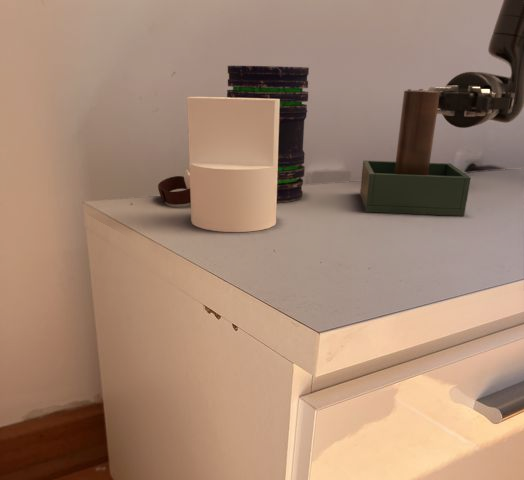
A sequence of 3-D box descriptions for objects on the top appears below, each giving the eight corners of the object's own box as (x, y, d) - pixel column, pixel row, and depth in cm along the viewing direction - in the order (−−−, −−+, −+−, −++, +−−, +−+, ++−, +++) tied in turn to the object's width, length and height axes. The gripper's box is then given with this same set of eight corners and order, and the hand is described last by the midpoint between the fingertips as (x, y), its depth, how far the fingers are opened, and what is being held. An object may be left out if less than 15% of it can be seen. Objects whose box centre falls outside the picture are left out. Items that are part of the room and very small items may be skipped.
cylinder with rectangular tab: (181, 229, 57) (176, 98, 52) (202, 210, 65) (199, 95, 60) (270, 234, 56) (274, 101, 51) (280, 214, 64) (284, 97, 59)
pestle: (421, 195, 72) (436, 91, 67) (427, 201, 68) (442, 92, 63) (390, 193, 72) (402, 90, 67) (393, 200, 69) (406, 91, 63)
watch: (209, 206, 67) (208, 174, 65) (170, 209, 65) (169, 176, 64) (186, 194, 73) (185, 165, 72) (151, 197, 71) (149, 166, 70)
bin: (445, 197, 75) (450, 163, 73) (464, 216, 65) (470, 177, 63) (360, 193, 76) (363, 160, 74) (365, 212, 66) (369, 173, 64)
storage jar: (242, 186, 79) (243, 66, 73) (311, 191, 77) (318, 68, 70) (215, 199, 71) (213, 65, 64) (291, 205, 68) (297, 66, 62)
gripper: (429, 71, 88) (395, 69, 75) (528, 72, 82) (509, 71, 69) (422, 123, 91) (389, 130, 79) (517, 128, 85) (497, 137, 72)
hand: (445, 102), depth 74 cm, fingers open, 8 cm apart
